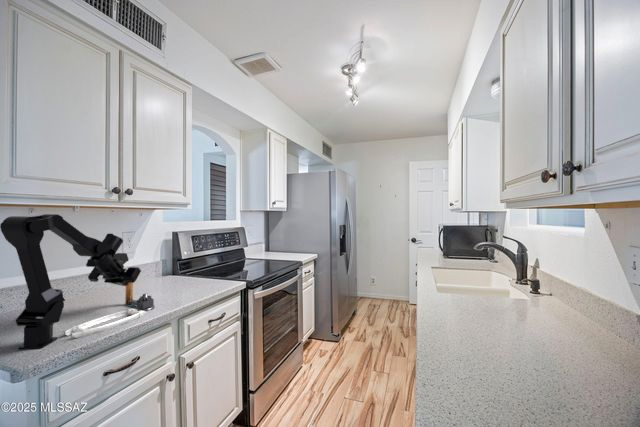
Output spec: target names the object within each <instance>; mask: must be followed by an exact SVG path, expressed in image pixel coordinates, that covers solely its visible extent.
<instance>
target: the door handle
mask: <svg viewBox="0 0 640 427" xmlns="http://www.w3.org/2000/svg"><path fill="white" fill-rule="evenodd" d="M146 314H147V311H142V310H140V311H138V310H136V309H135V308H128V309H126V310H122V311H118V312H115V313H111V314H108V315H105V316H100V317H98V318H94V319H92V320H89V321H86V322H84V323H81V324H78V325H77V324H76V325H74V326H71V328H69V329H67V330H65V331H63V335H65V336H72V338H75V339H80V338H84V337H88V336H91V335H95V334H98V333H102V332H105V330H106V331H108V329H109V330H111V328H112V329H114V327H115V328H117V326H118V327H120V326H123V325H126V324H129V323H130V322H132V321H135V320H137V319H140V318H142V317H143V316H145V315H146ZM126 316H127V317H126ZM122 317H124V318H122ZM118 318H121V319H119V320H116V321H112V322H110V323H106V324H104V325H100V326H96V327H93V326H95V325H98V324H101V323H104V322H108V321H111V319H112V320H114V319H118ZM90 327H92V328H90Z"/></svg>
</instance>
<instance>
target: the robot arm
mask: <svg viewBox="0 0 640 427" xmlns="http://www.w3.org/2000/svg"><path fill="white" fill-rule="evenodd" d="M46 231H50V232H52V233H53V234H55V235H56V236H58V237H60V238H61V239H62V240H64V241H65V242H68V243H69V244H70V245H71V246H72V250H73V251H74V252H75V253H76V254H77V255H78V256H80V257H90V258H89V259H87V262H86V265H85V266H86V267H87V268H88V267H91V268H93V269H92V270H91V272H90V273H89V274H88V276H87V277H88V278H87V279H88V280H89V281H90V282H96V283H97V282H98V281H99V277H100V276H102V280H104V281H103V282H104V283H107V284H112V285H117V286H122V287H126V284H127V283H133V284H134V283H135V282H136V281H137V279H138V277H139V276H140V274H141V272H142V270H141V268H140V267H139V266H130V267H127V268H124V267H125V266H124V264H126V263H127V262H129V260H130V259H129V256H128V253H126V252H118V251H119V248H120V247H121V246H122V245H123V243H124V240H123V239H122V237H119V236H118V235H115V234H114V233H107V234H106V235H105V237H104V239H103V240H99V239H97V238H95V237H90V236H87V235H86V234H85V233H83V232H82V231H80V230H79V229H78V228H76V227H74V226H73V224H71V223H69V222H68V221H67V220H65V219H64V217H63V216H62V215H60V214H54V213H53V214H51V213H49V214H48V213H46V214H45V213H44V214H41V215H40V214H39V215H34V216H26V215H25V216H24V215H22V216H19V215H18V216H16V215H15V216H13V215H12V216H8V217H5V219H4V220H3V221H2V222H1V223H0V232H1V233H2V235H3V237H4V238H5V240H6V241H7V242H8V243H9V244H11V246H12V247H14V248H15V250H16V253H17V256H18V259H19V263H20V266H21V269H22V274H23V277H24V280H25V283H26V286H27V290H28V295H27V296H26V298H25V301H24V306H25V308H24V309H23V310H22V311H21V313H20V314H19V315H18V316H17V318H15V324H16V325H17V327H18V326H19V327H23V344H21V345H19V346H17V349H18V350H22V349H24V350H27V349H42V348H44V347H46V346H48V345H49V344H51V343H53V342H55V341H56V340H58V339H59V338H58V336H53V335H54V334H53V333H54V327H53V326H54V324H56V323H58V322H59V321H60V319H61V315H62V313H63V311H64V310H63V309H64V307H65V303H64V302H65V301H66V299H65V297H64V295H63V290H62V289H59V288H58V289H56V288H55V289H54V288H53V287H52V285H51V280H50V278H49V277H50V276H49V273H48V269H47V267H46V266H47V265H46V263H45V260H44V255H43V251H42V247H41V242H42V240H43V238H44V235H45V234H44V232H46ZM38 317H39V318H38Z"/></svg>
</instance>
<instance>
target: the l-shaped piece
mask: <svg viewBox="0 0 640 427" xmlns="http://www.w3.org/2000/svg"><path fill="white" fill-rule="evenodd" d="M133 290H134V283H127V284H126V286H125V297H124V298H125V300H124V301H125V305H129V304H134V305H136V306H135V308H141V309H145V308H148V307H152V306H153V305H154V302H155V300H154V298H152V295H148V297H147V298H146V300H145V301H143V295H142V296H141V295H140V296H139V297H138V299H134V298H133V296H134V295H133V292H134V291H133ZM154 306H155V305H154Z"/></svg>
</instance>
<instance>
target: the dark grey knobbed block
mask: <svg viewBox="0 0 640 427" xmlns="http://www.w3.org/2000/svg"><path fill="white" fill-rule="evenodd" d="M142 296H143V301H145V300H146V298H147V297H148V296H149V294H148V293H143V294H142ZM155 308H156V307H155V305H153V306H152V307H148V308H145V309H141V308H137V307H135V308H134V309H136V310H138V311H140V310H142V311H145V312H148V311H151V310H154V309H155Z"/></svg>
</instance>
